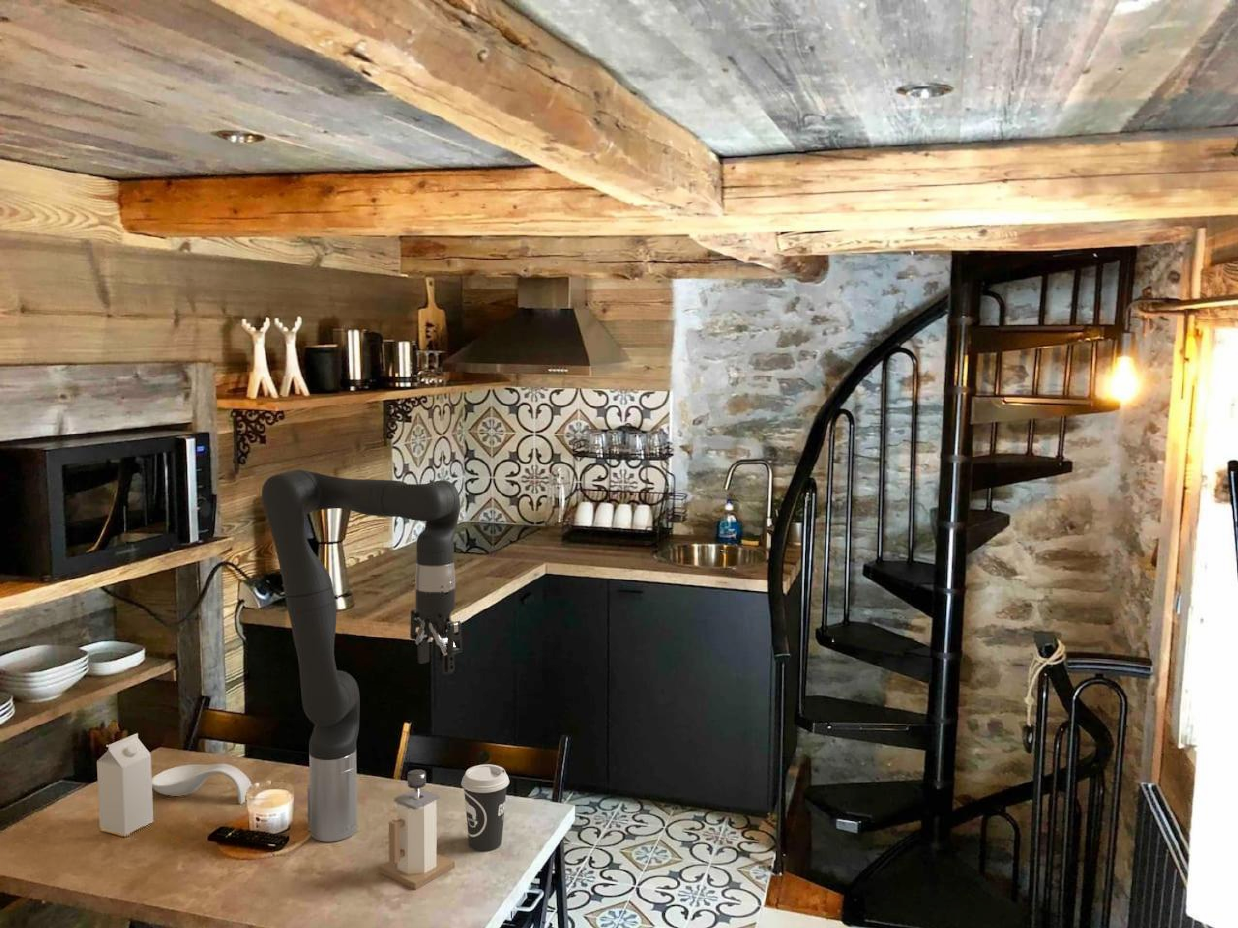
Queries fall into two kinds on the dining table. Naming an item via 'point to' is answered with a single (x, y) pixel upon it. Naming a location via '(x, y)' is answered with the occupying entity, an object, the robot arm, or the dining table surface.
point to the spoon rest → (198, 779)
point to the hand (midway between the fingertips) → (435, 667)
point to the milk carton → (125, 786)
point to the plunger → (416, 781)
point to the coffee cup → (485, 805)
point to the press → (415, 842)
